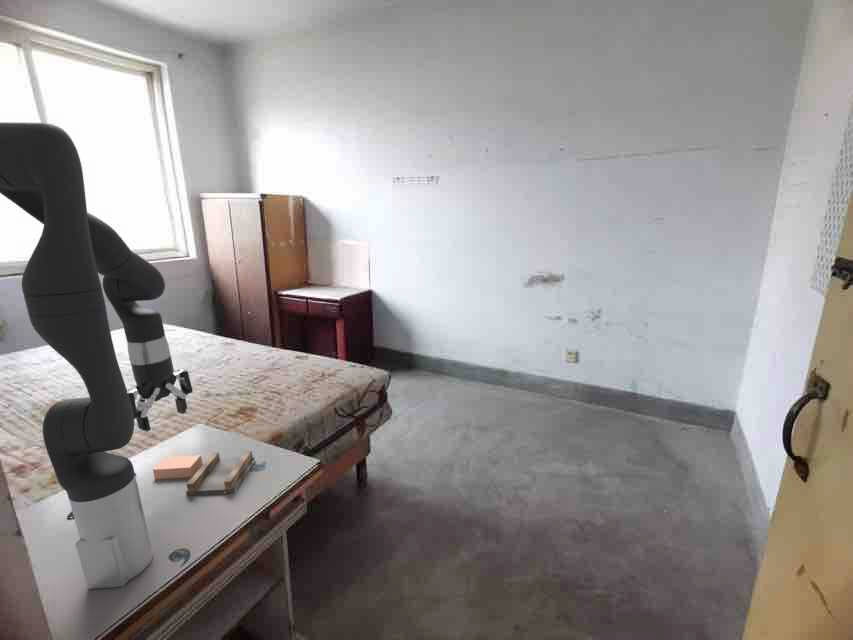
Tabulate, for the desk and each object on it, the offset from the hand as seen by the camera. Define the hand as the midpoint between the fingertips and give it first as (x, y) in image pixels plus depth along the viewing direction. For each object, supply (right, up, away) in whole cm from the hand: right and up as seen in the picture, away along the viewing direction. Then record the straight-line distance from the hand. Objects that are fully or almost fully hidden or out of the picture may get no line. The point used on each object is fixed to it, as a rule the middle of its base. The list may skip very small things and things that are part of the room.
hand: (165, 421), depth 95 cm
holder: (+11, -15, +6) cm, 20 cm away
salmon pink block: (-2, -15, +9) cm, 18 cm away
